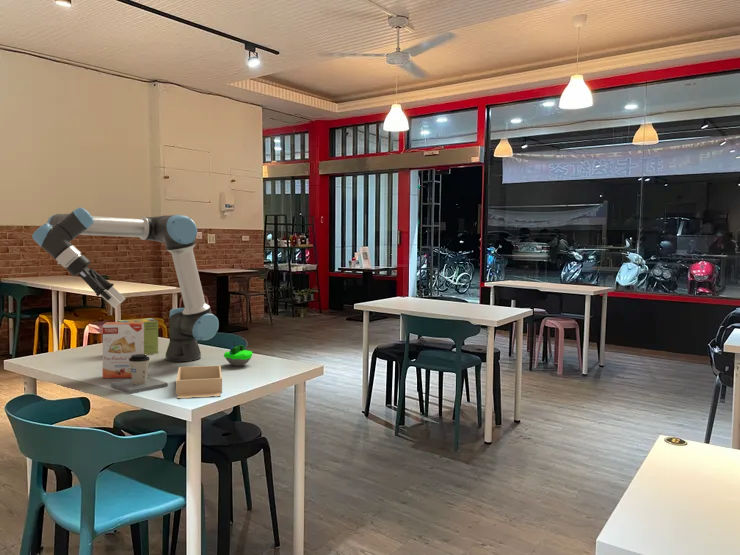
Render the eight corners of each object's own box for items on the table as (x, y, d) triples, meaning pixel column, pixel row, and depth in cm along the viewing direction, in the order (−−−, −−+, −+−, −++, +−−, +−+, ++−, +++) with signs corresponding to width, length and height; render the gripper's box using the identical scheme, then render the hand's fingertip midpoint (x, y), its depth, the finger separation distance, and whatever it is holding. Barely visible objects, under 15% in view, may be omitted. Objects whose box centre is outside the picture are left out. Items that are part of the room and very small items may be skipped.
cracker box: (102, 378, 209) (101, 324, 208) (105, 375, 215) (105, 321, 213) (141, 377, 212) (141, 323, 211) (144, 374, 218) (144, 321, 217)
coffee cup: (148, 379, 204) (148, 353, 204) (150, 384, 198) (150, 356, 197) (128, 381, 201) (128, 354, 200) (129, 386, 195) (129, 358, 194)
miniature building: (244, 369, 230) (245, 343, 229) (219, 367, 232) (219, 341, 232) (256, 363, 242) (257, 338, 241) (232, 361, 244) (232, 336, 243)
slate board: (147, 379, 209) (147, 376, 209) (167, 386, 200) (167, 382, 200) (111, 386, 199) (111, 382, 198) (130, 393, 190) (130, 390, 190)
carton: (175, 399, 184) (175, 384, 184) (179, 376, 214) (179, 364, 214) (222, 396, 189) (222, 382, 188) (220, 375, 219) (220, 362, 218)
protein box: (158, 353, 258) (158, 320, 257) (124, 357, 248) (123, 322, 247) (151, 349, 266) (151, 317, 265) (117, 353, 256) (117, 320, 255)
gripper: (73, 267, 206) (117, 306, 212) (56, 270, 183) (106, 315, 188) (89, 253, 208) (132, 292, 213) (74, 254, 184) (123, 299, 189)
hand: (120, 303), depth 200 cm, fingers open, 13 cm apart
